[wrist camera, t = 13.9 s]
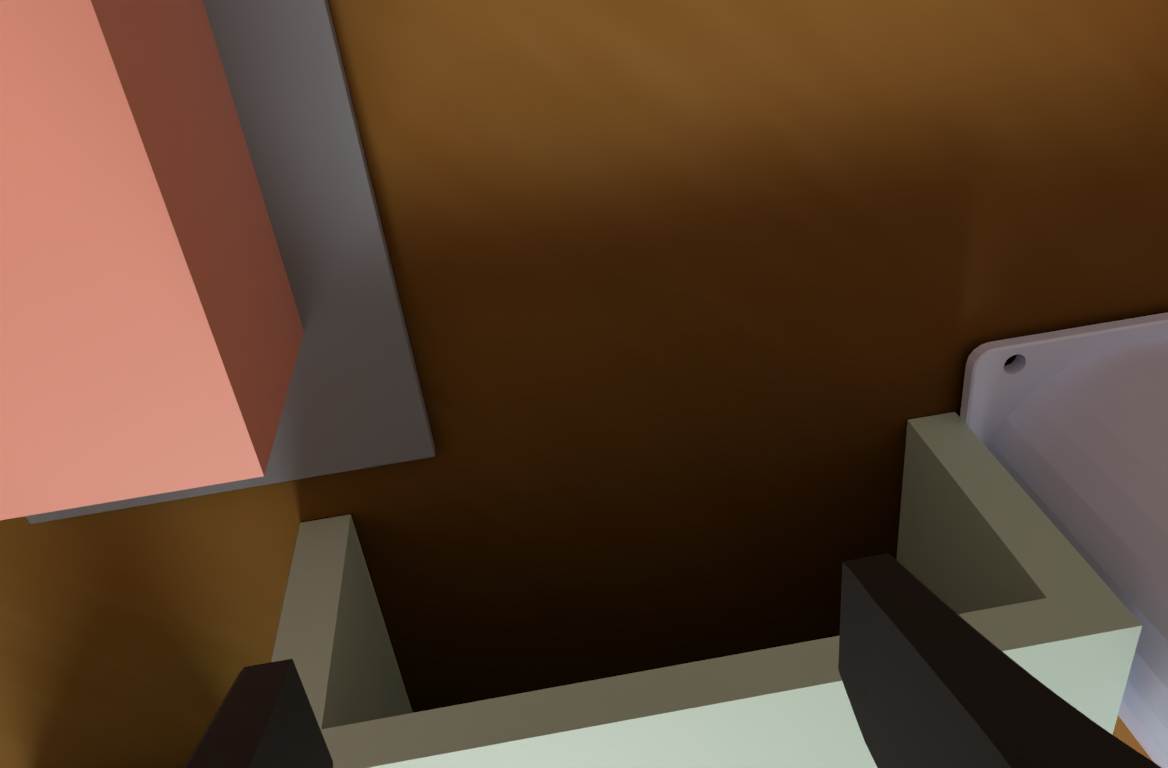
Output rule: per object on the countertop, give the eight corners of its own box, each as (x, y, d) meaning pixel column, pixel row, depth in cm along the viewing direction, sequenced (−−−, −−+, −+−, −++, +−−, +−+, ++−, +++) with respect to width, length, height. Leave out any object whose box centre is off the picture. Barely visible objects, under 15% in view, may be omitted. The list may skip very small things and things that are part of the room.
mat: (163, -682, 12) (155, -697, 12) (434, 446, 21) (434, 456, 21) (-564, -606, 12) (-594, -619, 11) (36, 513, 21) (30, 524, 21)
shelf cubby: (955, 411, 23) (1142, 625, 17) (926, 666, 28) (1065, 906, 21) (300, 523, 22) (243, 790, 16) (385, 765, 27) (367, 1045, 21)
